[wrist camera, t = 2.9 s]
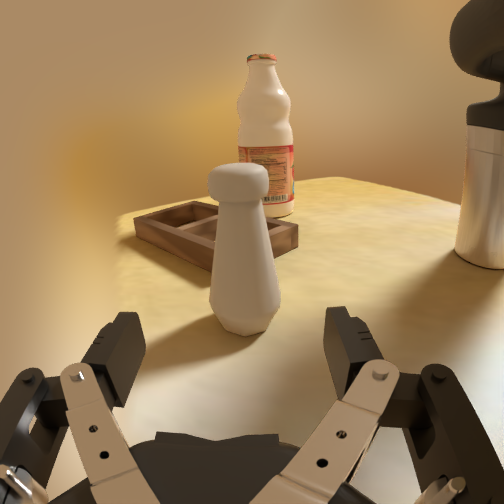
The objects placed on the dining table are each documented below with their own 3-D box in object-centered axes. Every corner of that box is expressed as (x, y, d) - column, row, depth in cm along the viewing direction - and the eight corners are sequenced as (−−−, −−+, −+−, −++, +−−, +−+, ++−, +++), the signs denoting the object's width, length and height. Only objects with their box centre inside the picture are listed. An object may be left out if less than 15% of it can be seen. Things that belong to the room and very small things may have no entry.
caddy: (195, 217, 56) (194, 200, 55) (298, 246, 41) (298, 224, 40) (136, 236, 49) (133, 218, 47) (229, 280, 34) (226, 254, 33)
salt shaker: (214, 346, 24) (193, 174, 19) (211, 307, 29) (195, 163, 24) (288, 337, 24) (288, 167, 19) (273, 300, 30) (269, 157, 25)
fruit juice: (231, 212, 58) (222, 59, 47) (269, 202, 63) (263, 63, 52) (266, 222, 51) (259, 47, 40) (305, 211, 57) (300, 55, 46)
